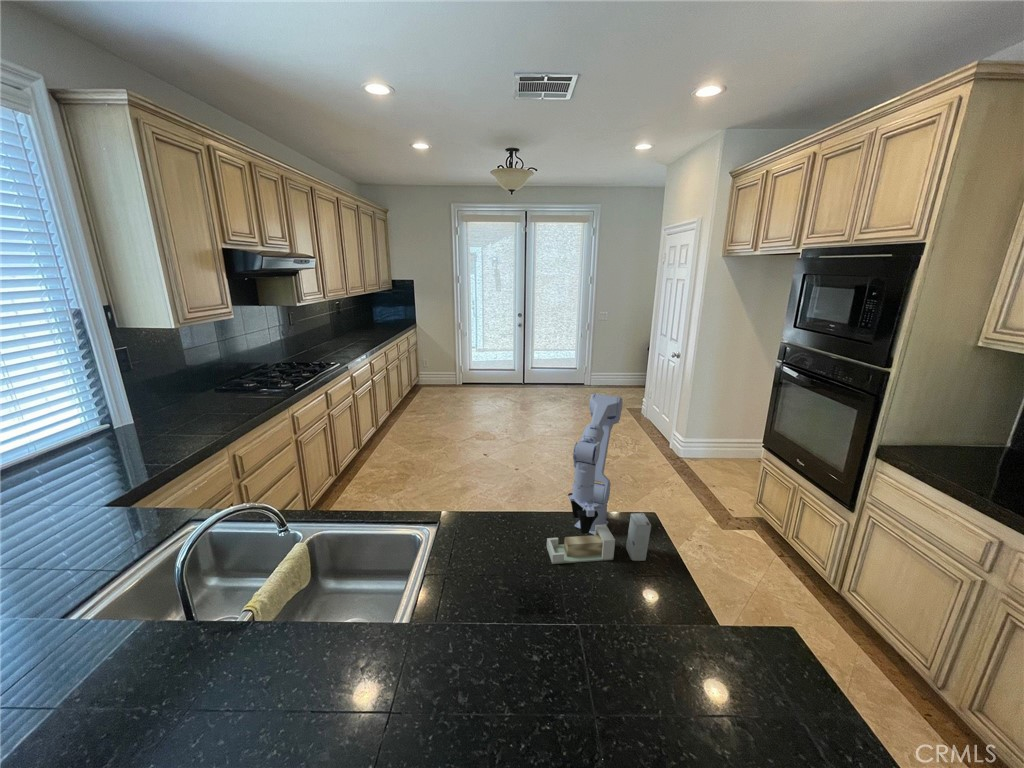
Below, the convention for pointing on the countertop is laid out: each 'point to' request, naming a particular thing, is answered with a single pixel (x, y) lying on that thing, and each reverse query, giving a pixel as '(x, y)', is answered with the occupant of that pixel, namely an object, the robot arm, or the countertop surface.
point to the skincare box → (638, 537)
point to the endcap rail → (560, 556)
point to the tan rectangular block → (583, 545)
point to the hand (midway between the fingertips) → (580, 524)
